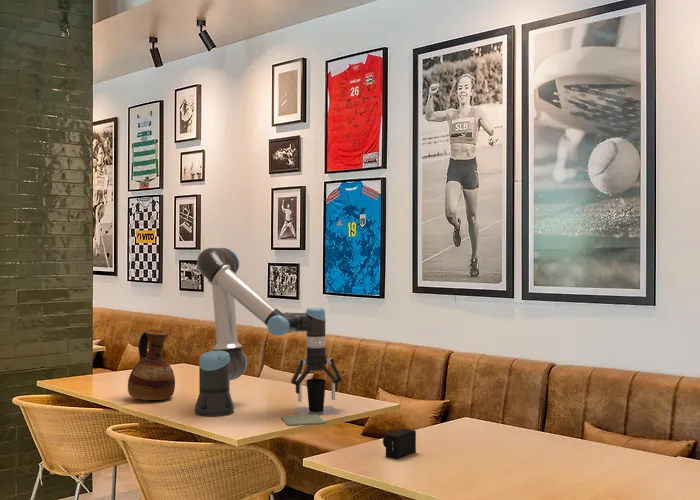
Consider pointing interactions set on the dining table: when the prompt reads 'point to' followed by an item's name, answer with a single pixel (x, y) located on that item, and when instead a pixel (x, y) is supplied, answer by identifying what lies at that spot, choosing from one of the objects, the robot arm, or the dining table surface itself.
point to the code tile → (326, 411)
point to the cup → (316, 394)
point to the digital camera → (400, 443)
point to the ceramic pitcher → (152, 369)
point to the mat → (302, 420)
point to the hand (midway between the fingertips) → (316, 400)
